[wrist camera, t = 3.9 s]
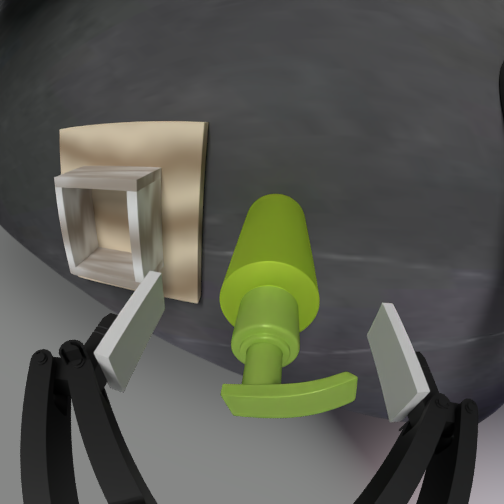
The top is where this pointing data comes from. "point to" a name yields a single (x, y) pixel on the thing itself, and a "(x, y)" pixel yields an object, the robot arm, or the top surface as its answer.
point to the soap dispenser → (275, 315)
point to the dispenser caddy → (134, 203)
